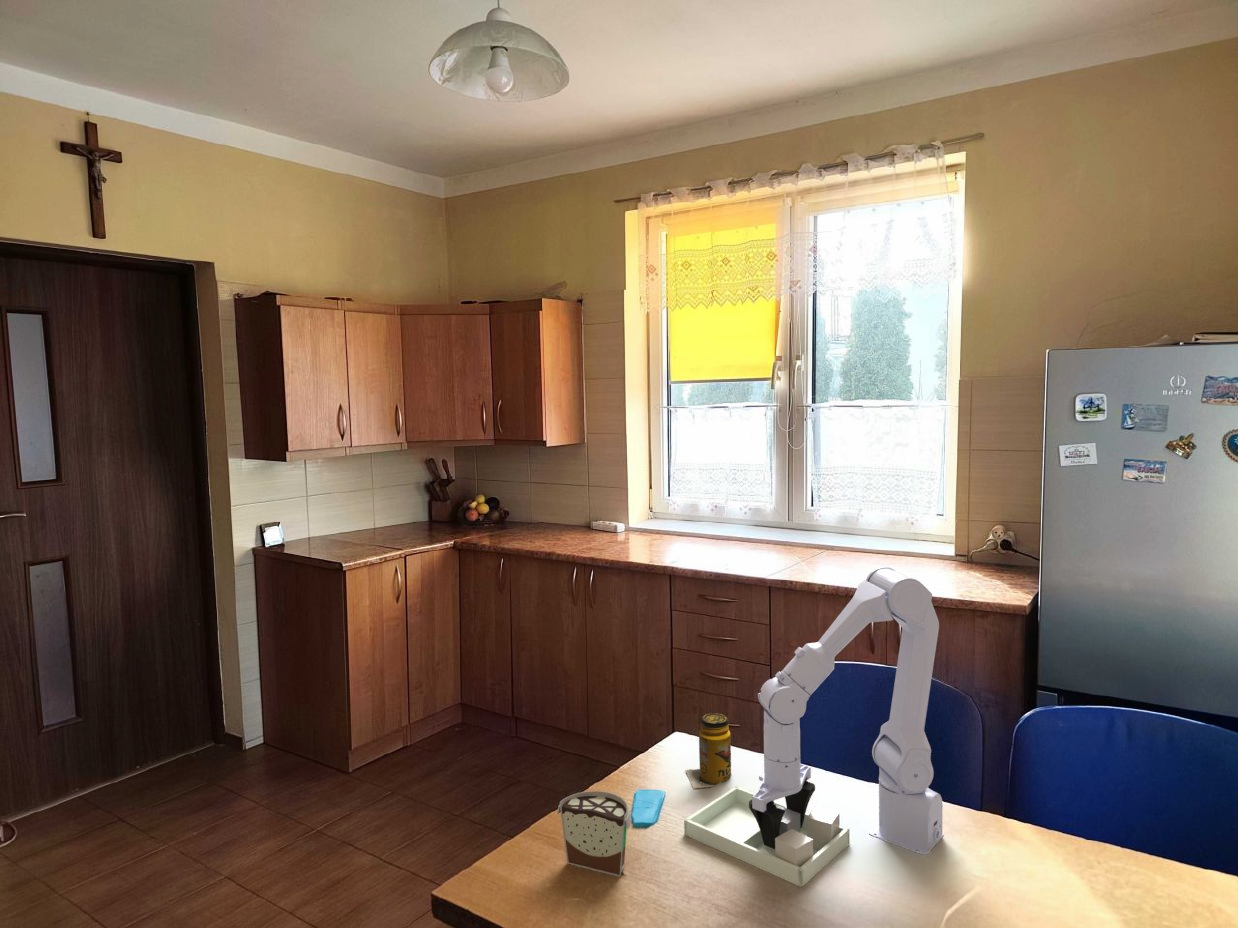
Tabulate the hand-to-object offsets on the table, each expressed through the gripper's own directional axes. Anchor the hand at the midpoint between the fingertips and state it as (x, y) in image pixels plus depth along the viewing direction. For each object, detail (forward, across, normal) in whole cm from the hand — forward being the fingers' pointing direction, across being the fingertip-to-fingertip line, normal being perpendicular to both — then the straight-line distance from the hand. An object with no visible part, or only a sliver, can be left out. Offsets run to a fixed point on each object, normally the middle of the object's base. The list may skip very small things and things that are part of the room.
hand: (783, 835), depth 128 cm
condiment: (+2, -12, -23) cm, 26 cm away
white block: (+1, +5, +5) cm, 7 cm away
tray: (+2, 0, -3) cm, 4 cm away
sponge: (+2, +5, -25) cm, 26 cm away
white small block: (+1, -4, +5) cm, 7 cm away
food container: (+2, +22, -20) cm, 29 cm away
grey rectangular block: (+1, 0, 0) cm, 1 cm away
